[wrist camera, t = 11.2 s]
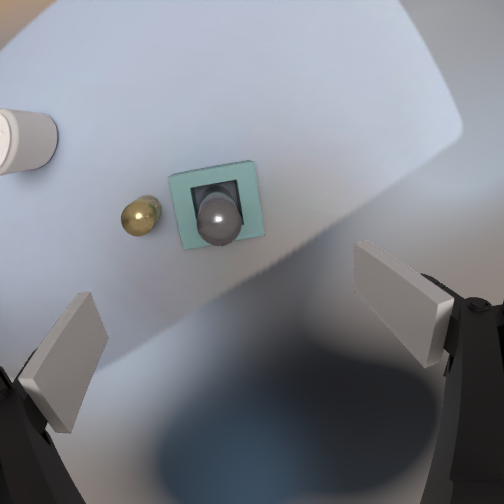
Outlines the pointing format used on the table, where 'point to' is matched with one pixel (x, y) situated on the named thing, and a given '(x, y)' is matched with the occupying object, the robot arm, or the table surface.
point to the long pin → (218, 216)
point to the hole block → (233, 171)
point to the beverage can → (25, 140)
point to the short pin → (141, 215)
